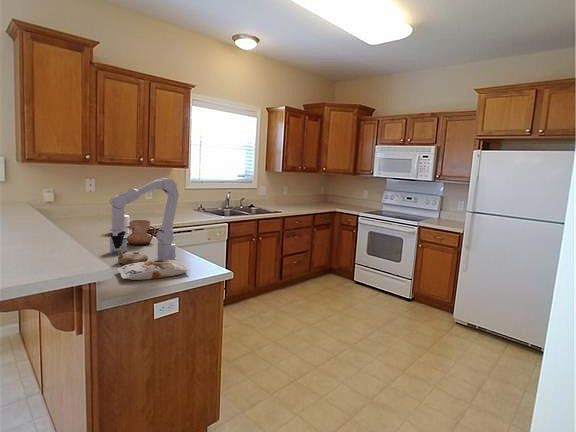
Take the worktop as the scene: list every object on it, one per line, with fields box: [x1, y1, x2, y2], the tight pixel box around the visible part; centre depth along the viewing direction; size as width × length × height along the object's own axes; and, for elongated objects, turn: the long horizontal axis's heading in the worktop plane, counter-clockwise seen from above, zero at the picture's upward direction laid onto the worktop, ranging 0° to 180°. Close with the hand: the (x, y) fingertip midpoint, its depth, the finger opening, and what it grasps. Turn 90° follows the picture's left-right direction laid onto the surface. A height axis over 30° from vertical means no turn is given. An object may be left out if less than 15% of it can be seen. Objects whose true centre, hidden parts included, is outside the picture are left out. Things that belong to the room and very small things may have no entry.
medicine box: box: [109, 235, 127, 255], centre depth 198 cm, size 8×4×9 cm, turn 126°
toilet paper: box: [125, 214, 131, 235], centre depth 245 cm, size 10×10×12 cm
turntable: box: [117, 249, 149, 265], centre depth 182 cm, size 14×14×6 cm
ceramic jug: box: [125, 219, 157, 246], centre depth 220 cm, size 18×14×14 cm
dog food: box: [117, 259, 190, 281], centre depth 168 cm, size 30×18×5 cm, turn 125°
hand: (118, 247), depth 175 cm, fingers open, 4 cm apart
